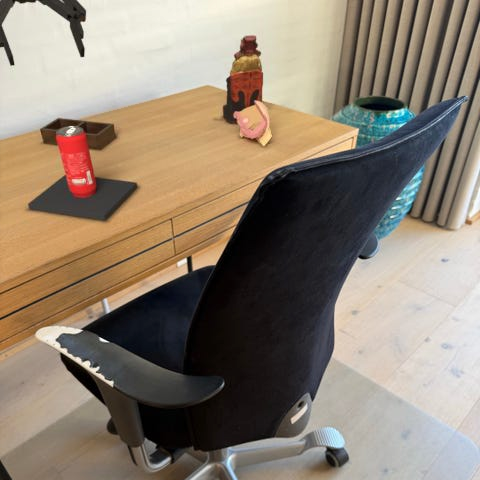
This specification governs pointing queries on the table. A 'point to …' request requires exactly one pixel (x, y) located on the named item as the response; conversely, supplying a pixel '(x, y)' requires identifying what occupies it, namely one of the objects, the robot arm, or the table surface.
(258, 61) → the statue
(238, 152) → the table surface
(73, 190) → the beverage can
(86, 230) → the table surface
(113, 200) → the mat
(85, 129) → the divided desk organizer tray
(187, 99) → the table surface
